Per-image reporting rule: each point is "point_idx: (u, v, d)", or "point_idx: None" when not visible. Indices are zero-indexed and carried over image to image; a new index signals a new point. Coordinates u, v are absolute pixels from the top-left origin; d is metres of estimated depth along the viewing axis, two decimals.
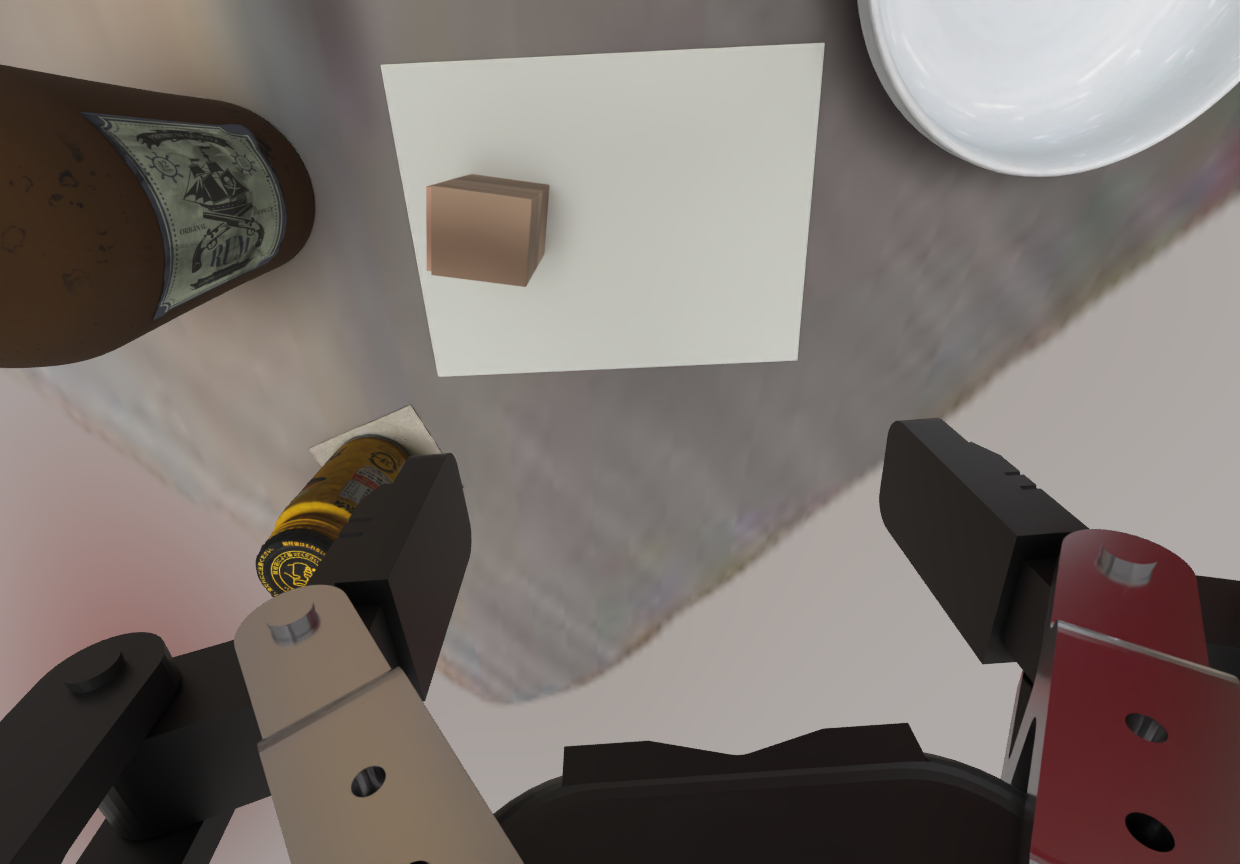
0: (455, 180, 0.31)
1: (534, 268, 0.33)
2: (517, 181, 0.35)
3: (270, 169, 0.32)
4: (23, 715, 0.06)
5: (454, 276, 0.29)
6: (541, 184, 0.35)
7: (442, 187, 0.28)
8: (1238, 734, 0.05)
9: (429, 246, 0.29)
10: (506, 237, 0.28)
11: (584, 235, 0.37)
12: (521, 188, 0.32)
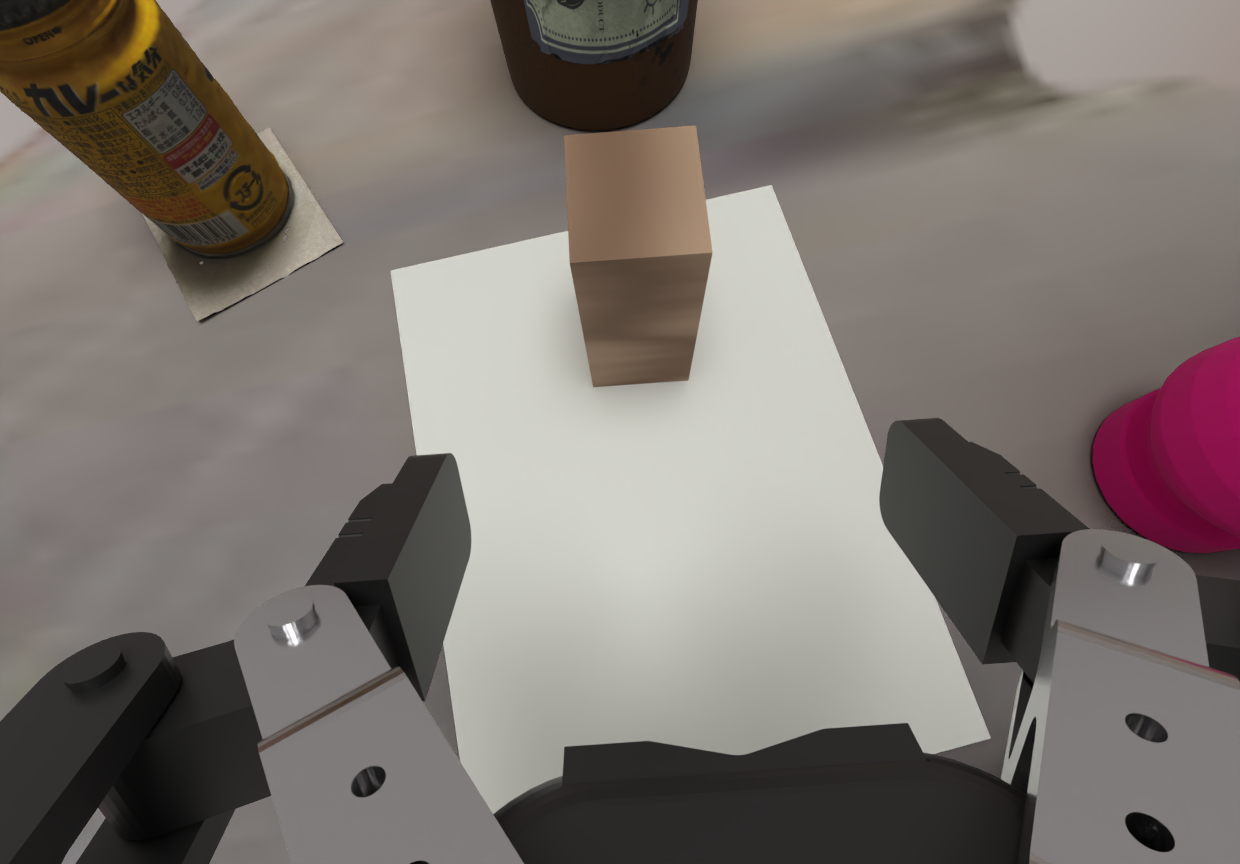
0: None
1: (587, 323, 0.20)
2: None
3: (643, 45, 0.26)
4: (23, 715, 0.06)
5: (567, 164, 0.18)
6: None
7: (696, 140, 0.18)
8: None
9: None
10: (644, 226, 0.17)
11: (630, 437, 0.25)
12: None
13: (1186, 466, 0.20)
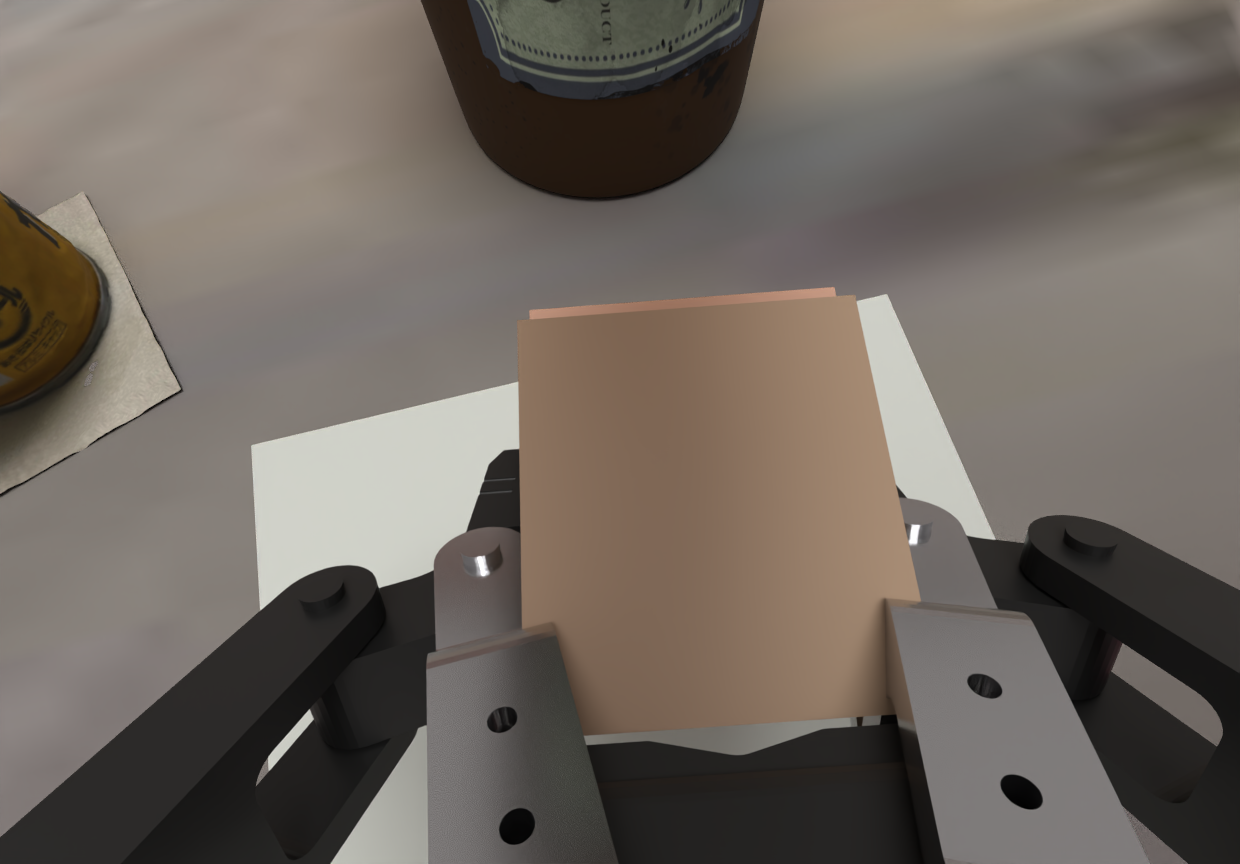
0: None
1: None
2: None
3: (680, 67, 0.15)
4: (266, 618, 0.07)
5: (524, 405, 0.07)
6: None
7: (858, 334, 0.07)
8: (1044, 666, 0.05)
9: None
10: (736, 612, 0.06)
11: None
12: None
13: None
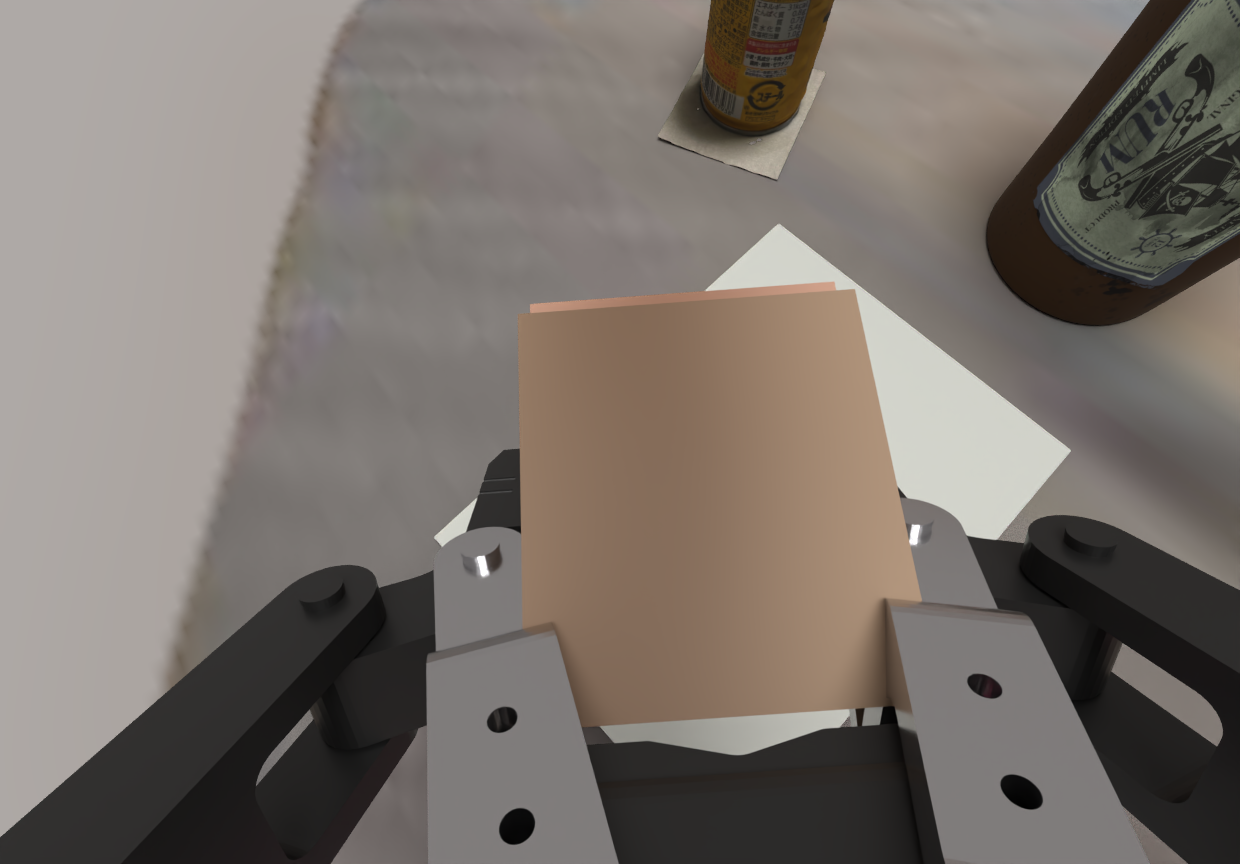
0: None
1: None
2: None
3: (1105, 269, 0.27)
4: (266, 618, 0.07)
5: (525, 399, 0.07)
6: None
7: (858, 328, 0.07)
8: (1044, 666, 0.05)
9: None
10: (737, 604, 0.06)
11: None
12: None
13: None
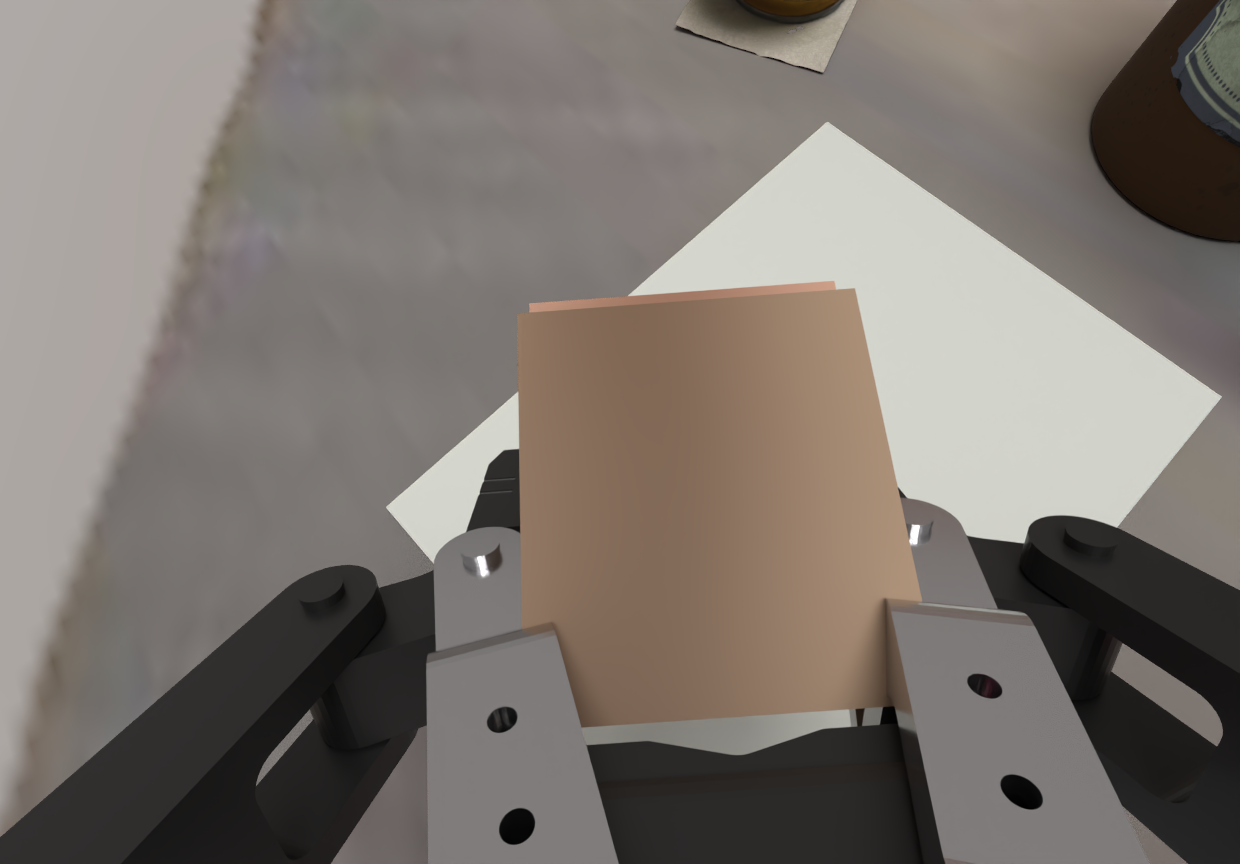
0: None
1: None
2: None
3: None
4: (266, 618, 0.07)
5: (524, 398, 0.07)
6: None
7: (858, 327, 0.07)
8: (1042, 666, 0.05)
9: (623, 306, 0.08)
10: (737, 604, 0.06)
11: None
12: None
13: None
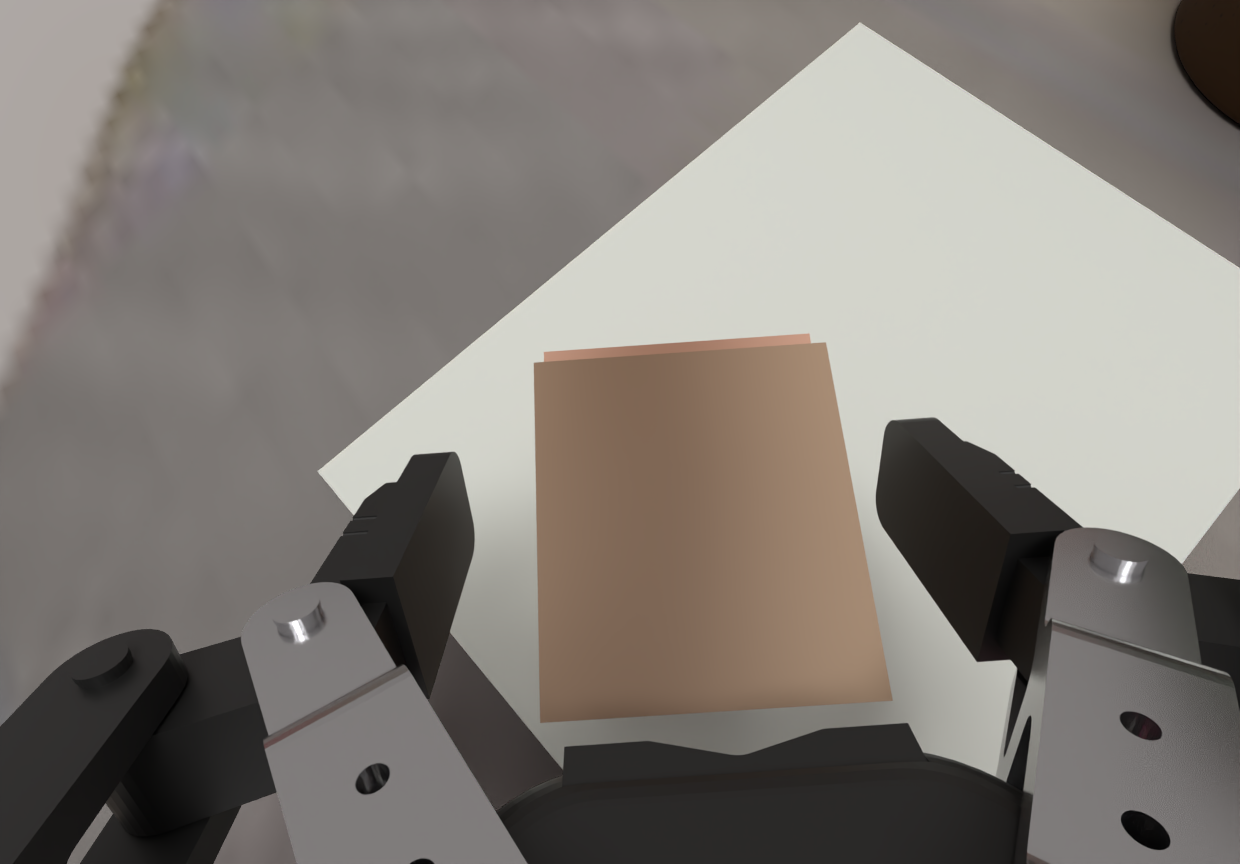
0: None
1: None
2: None
3: None
4: (32, 711, 0.06)
5: (540, 437, 0.08)
6: None
7: (829, 377, 0.08)
8: (1233, 732, 0.05)
9: (625, 354, 0.09)
10: (721, 617, 0.07)
11: (864, 361, 0.18)
12: None
13: None
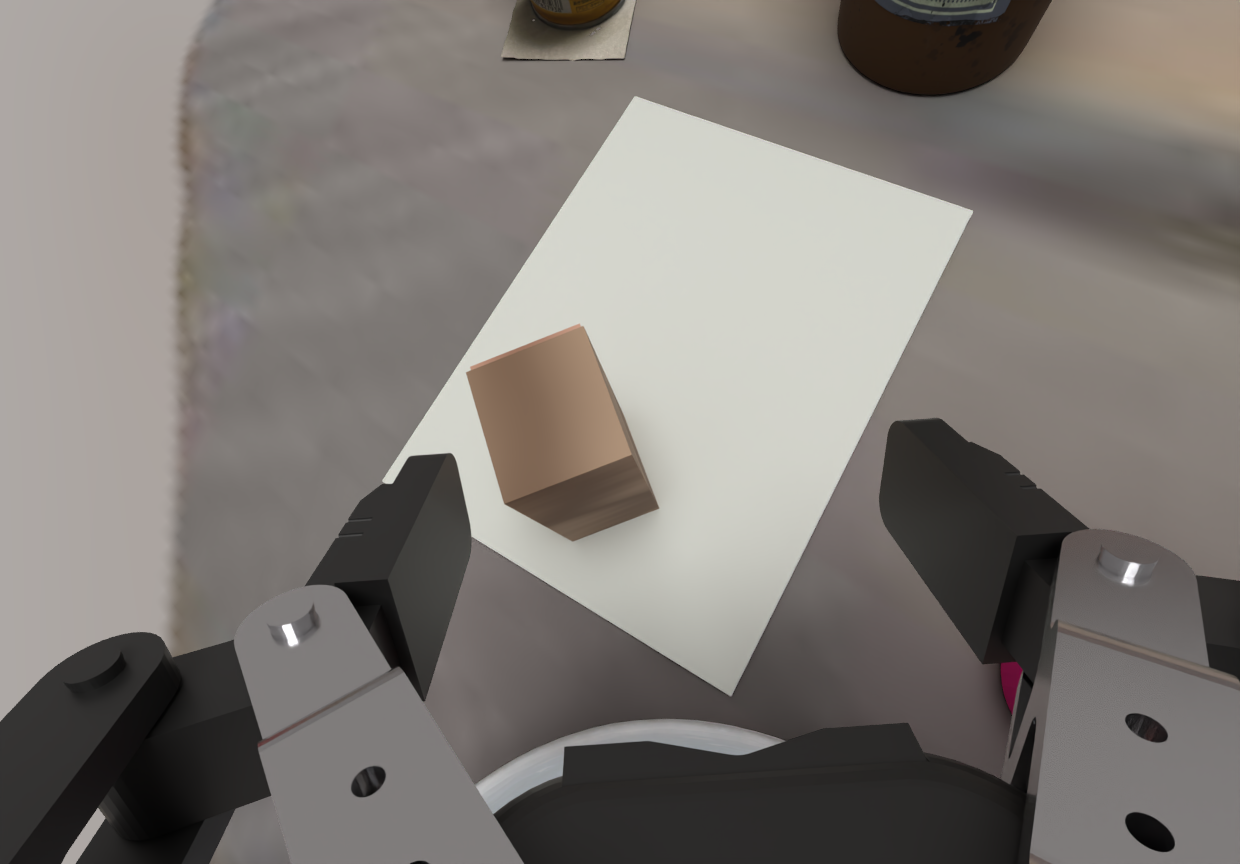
0: (606, 377, 0.23)
1: (542, 520, 0.21)
2: (643, 466, 0.26)
3: (946, 18, 0.27)
4: (23, 715, 0.06)
5: (476, 401, 0.19)
6: (654, 496, 0.26)
7: (588, 339, 0.19)
8: None
9: (504, 357, 0.20)
10: (562, 446, 0.18)
11: (684, 315, 0.29)
12: (638, 459, 0.22)
13: None
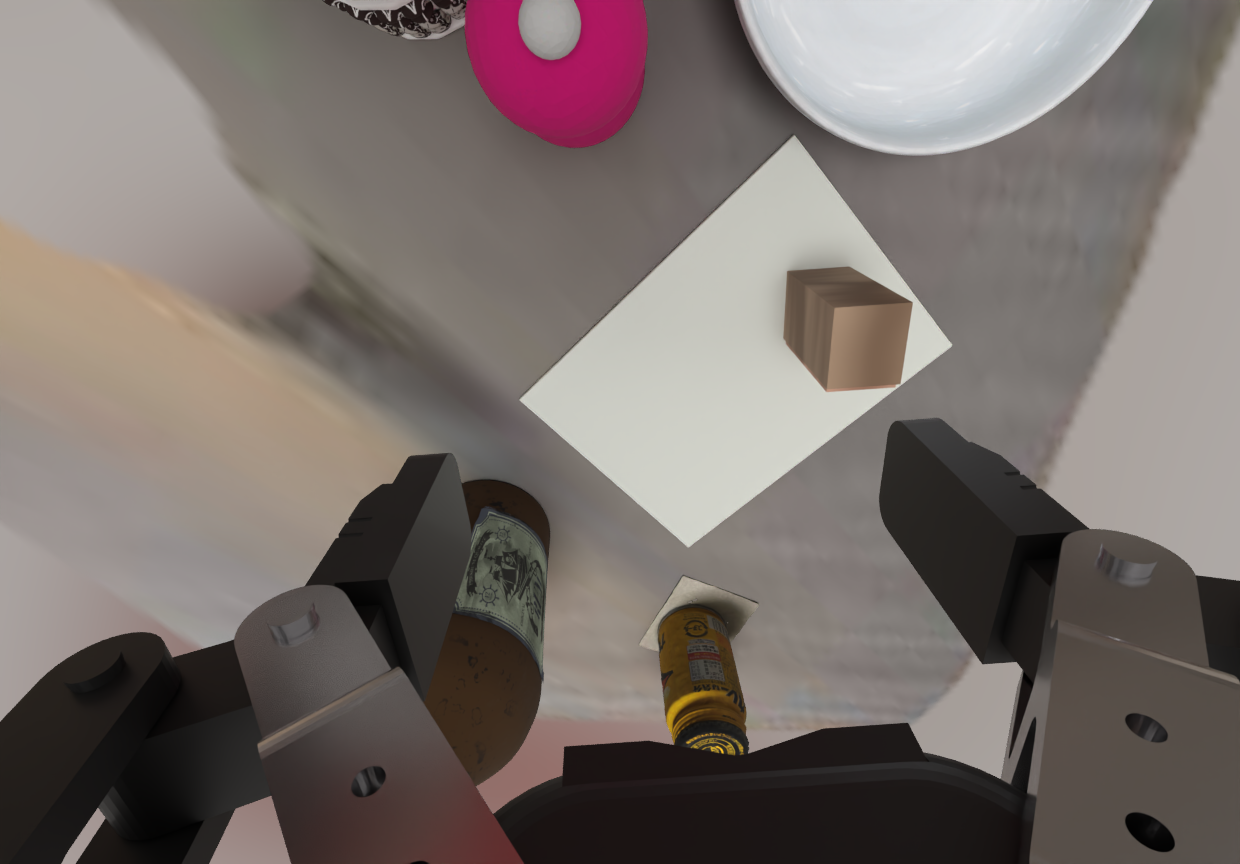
0: (806, 361, 0.37)
1: (880, 286, 0.34)
2: (789, 301, 0.39)
3: (511, 517, 0.43)
4: (23, 716, 0.06)
5: (902, 365, 0.33)
6: (789, 279, 0.39)
7: (827, 380, 0.33)
8: None
9: (874, 386, 0.34)
10: (868, 324, 0.32)
11: (718, 391, 0.43)
12: (807, 305, 0.36)
13: (623, 124, 0.32)
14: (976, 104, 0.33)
